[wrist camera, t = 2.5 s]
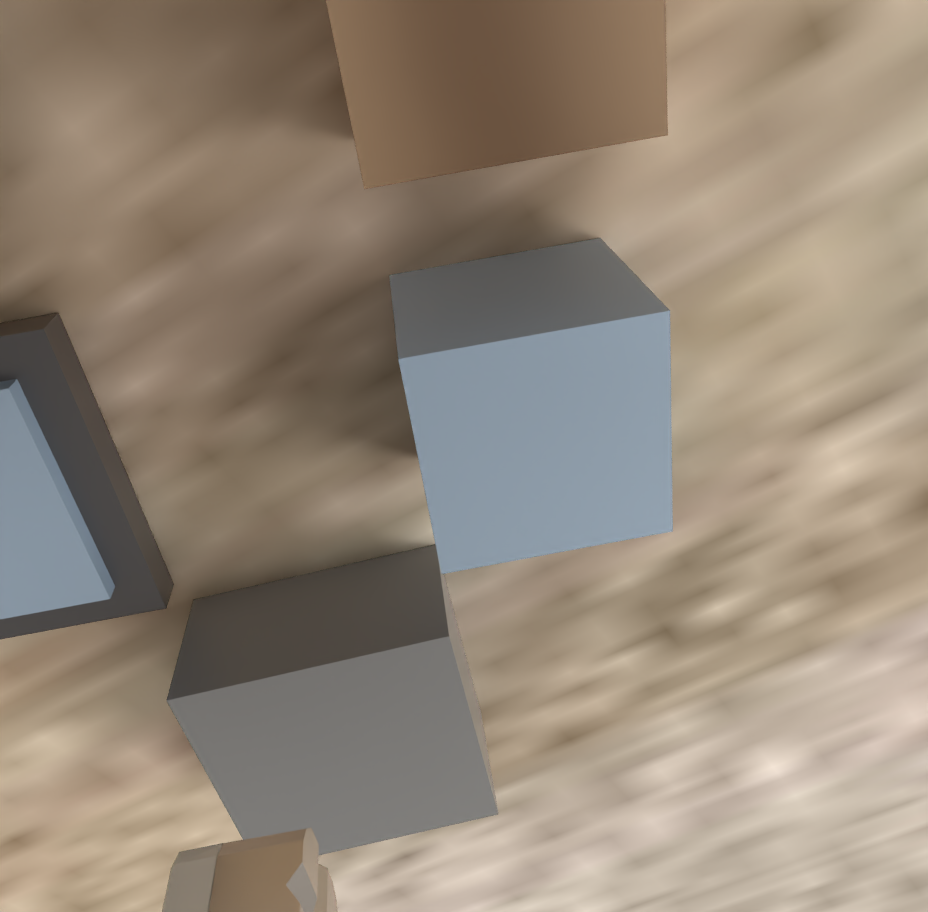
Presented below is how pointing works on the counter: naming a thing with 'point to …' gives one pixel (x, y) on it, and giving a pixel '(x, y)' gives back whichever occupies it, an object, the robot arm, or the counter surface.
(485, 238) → the counter surface
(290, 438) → the counter surface
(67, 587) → the tile
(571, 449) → the slate blue cube
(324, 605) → the riser block
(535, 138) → the walnut cube
